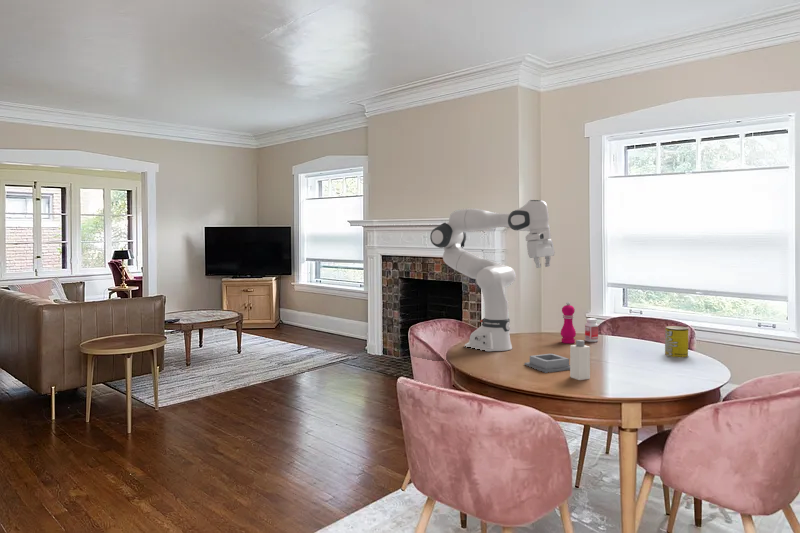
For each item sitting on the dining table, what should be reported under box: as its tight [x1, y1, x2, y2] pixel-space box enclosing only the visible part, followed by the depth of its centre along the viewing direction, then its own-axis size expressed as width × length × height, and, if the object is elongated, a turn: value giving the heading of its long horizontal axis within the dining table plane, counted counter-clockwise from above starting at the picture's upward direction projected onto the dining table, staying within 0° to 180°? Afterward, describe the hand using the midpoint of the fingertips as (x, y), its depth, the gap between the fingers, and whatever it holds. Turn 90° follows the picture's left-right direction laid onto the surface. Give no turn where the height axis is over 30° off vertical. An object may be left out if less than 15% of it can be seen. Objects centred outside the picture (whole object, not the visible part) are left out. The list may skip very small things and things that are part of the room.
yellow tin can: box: [664, 325, 689, 358], centre depth 244 cm, size 9×9×12 cm
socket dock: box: [523, 353, 570, 374], centre depth 225 cm, size 14×14×4 cm
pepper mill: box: [560, 301, 577, 345], centre depth 274 cm, size 7×7×20 cm
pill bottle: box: [584, 317, 599, 343], centre depth 278 cm, size 6×6×11 cm
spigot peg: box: [569, 339, 591, 381], centre depth 208 cm, size 5×5×14 cm
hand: (543, 267), depth 247 cm, fingers open, 8 cm apart
